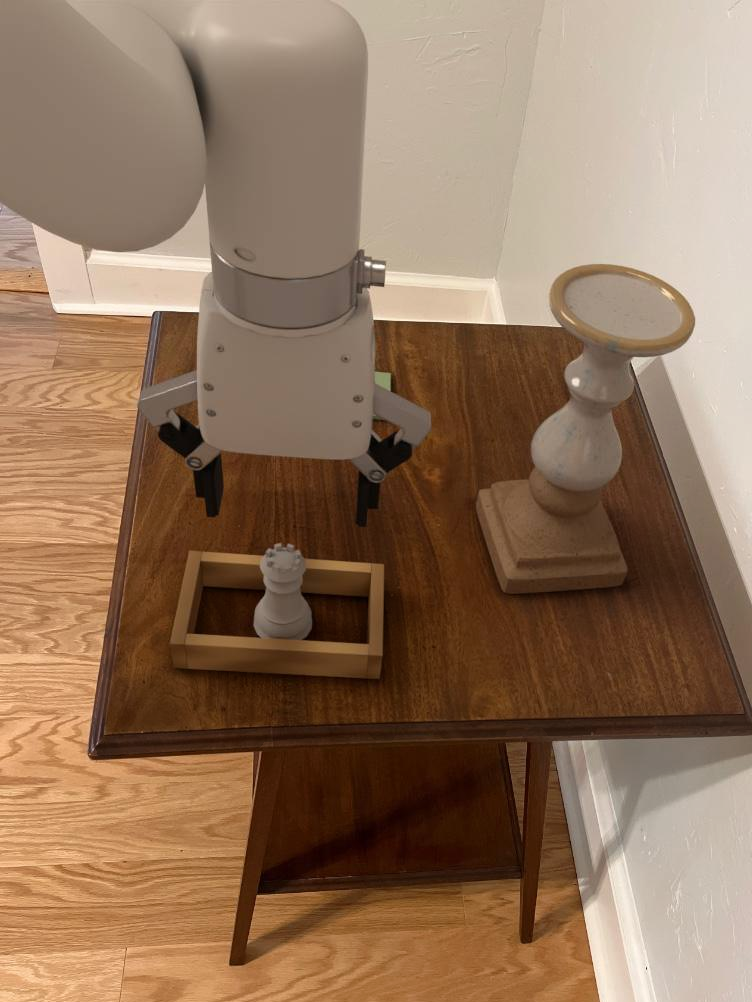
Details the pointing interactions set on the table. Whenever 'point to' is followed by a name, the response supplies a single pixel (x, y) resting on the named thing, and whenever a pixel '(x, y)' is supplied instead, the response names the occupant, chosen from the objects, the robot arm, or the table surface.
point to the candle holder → (581, 435)
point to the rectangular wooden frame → (277, 652)
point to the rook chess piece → (283, 596)
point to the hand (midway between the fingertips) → (289, 507)
